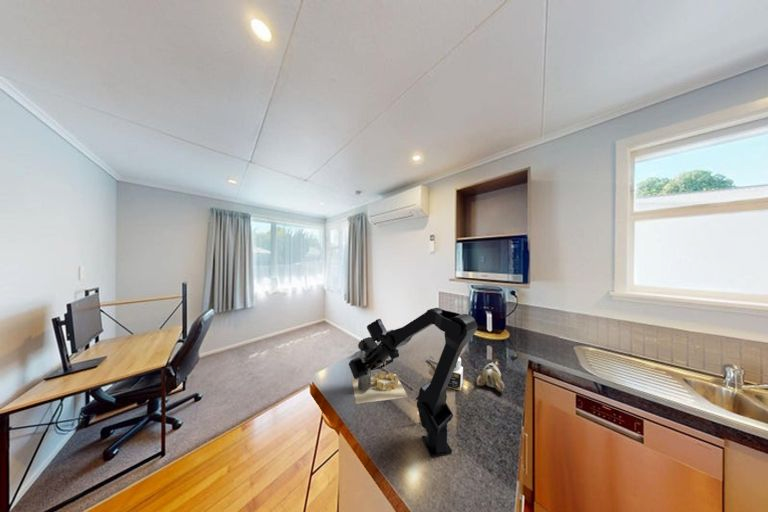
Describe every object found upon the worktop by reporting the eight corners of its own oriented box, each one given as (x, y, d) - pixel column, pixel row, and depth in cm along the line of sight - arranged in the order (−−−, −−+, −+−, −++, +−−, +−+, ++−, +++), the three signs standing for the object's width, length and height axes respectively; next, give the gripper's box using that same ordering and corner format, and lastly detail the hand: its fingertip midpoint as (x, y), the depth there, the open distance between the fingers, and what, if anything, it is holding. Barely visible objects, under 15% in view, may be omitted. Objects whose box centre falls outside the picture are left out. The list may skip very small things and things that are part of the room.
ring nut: (400, 389, 84) (400, 383, 84) (376, 392, 82) (376, 386, 82) (393, 376, 94) (393, 370, 94) (371, 378, 92) (371, 372, 92)
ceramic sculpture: (505, 361, 96) (504, 378, 83) (505, 380, 96) (504, 400, 83) (480, 355, 101) (475, 370, 88) (480, 373, 101) (475, 390, 89)
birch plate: (408, 400, 80) (408, 397, 80) (355, 407, 75) (355, 403, 75) (395, 376, 96) (395, 374, 96) (351, 381, 92) (351, 378, 92)
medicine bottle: (442, 385, 90) (443, 357, 90) (446, 378, 96) (447, 351, 96) (460, 391, 86) (461, 361, 87) (462, 382, 93) (463, 355, 93)
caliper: (453, 379, 94) (454, 364, 95) (451, 379, 94) (452, 364, 95) (428, 360, 114) (429, 348, 114) (426, 360, 113) (427, 348, 114)
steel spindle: (371, 389, 81) (372, 358, 82) (358, 391, 80) (359, 359, 81) (369, 382, 86) (370, 353, 87) (357, 383, 85) (358, 353, 86)
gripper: (388, 328, 88) (371, 347, 95) (352, 338, 75) (335, 359, 82) (402, 353, 82) (382, 371, 89) (365, 369, 69) (345, 388, 76)
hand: (362, 371), depth 85 cm, fingers closed on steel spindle, 5 cm apart
